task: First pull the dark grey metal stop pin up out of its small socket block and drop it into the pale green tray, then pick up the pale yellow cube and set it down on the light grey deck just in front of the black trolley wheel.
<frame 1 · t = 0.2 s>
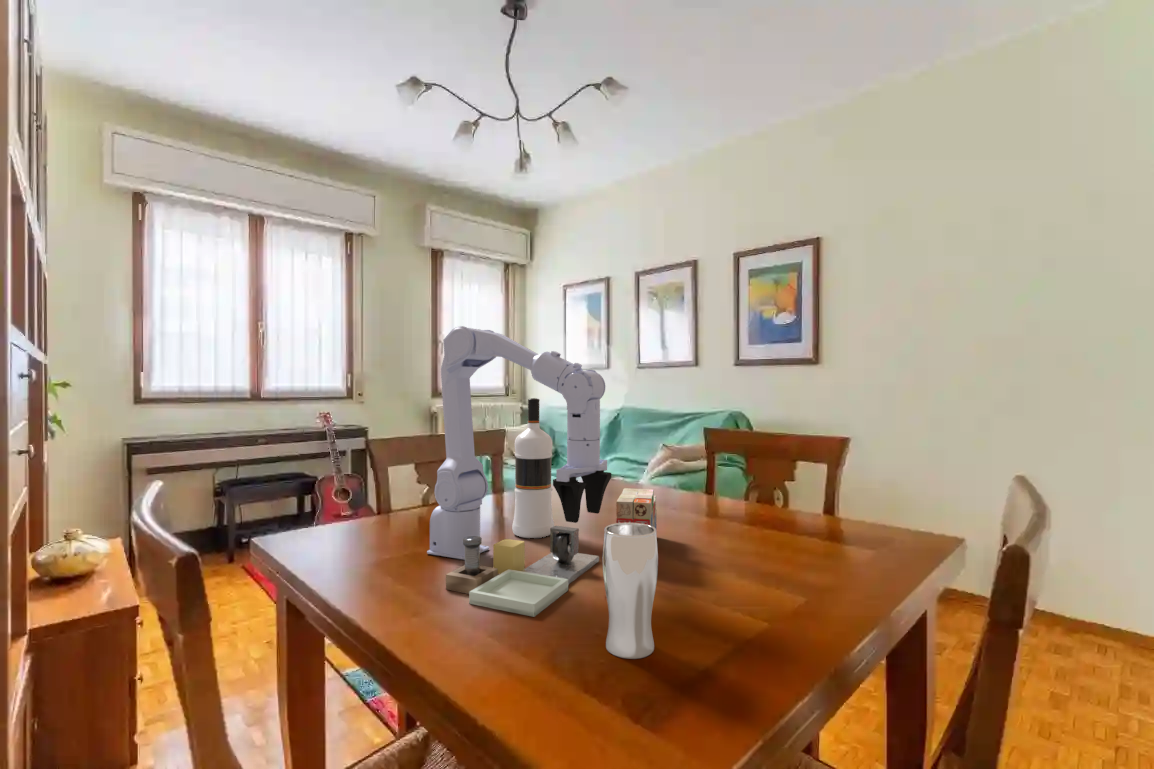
hand: (583, 517, 97), 10 cm above the table, tool pointing down, fingers open, 7 cm apart
pin: (472, 562, 91), in the socket
trolley wheel: (564, 566, 101), on the table
socket: (472, 586, 91), on the table
beer glass: (629, 648, 70), on the table
pale yellow cube: (509, 571, 99), on the table
stack of blocks: (638, 552, 111), on the table
vodka: (533, 534, 123), on the table
tray: (520, 596, 86), on the table
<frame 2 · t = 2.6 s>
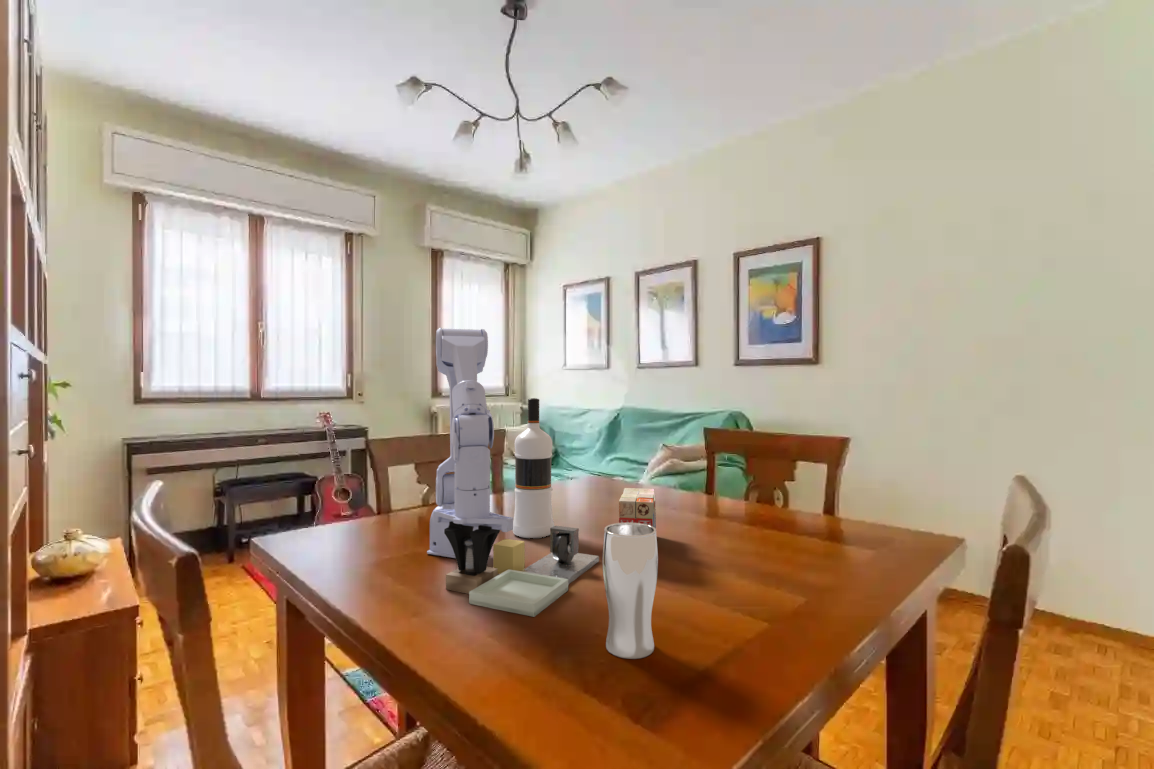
hand: (472, 570, 91), 3 cm above the table, tool pointing down, fingers closed on pin, 3 cm apart
pin: (472, 562, 91), in the socket, touching gripper
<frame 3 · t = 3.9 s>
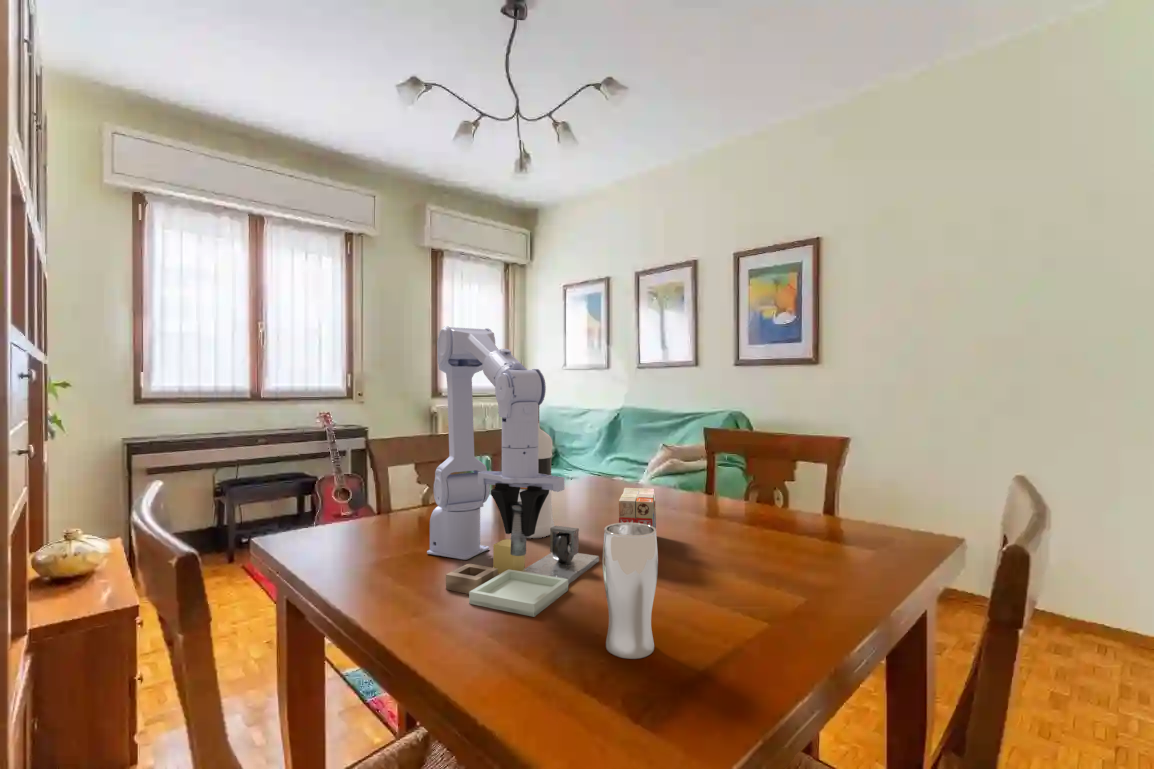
hand: (520, 533, 86), 10 cm above the table, tool pointing down, fingers closed on pin, 3 cm apart
pin: (519, 528, 86), point 11 cm above the table, touching gripper
everything else where it was.
when the fingers open (4 cm above the table, at t = 5.2 s): pin stays where it is, resting on tray.
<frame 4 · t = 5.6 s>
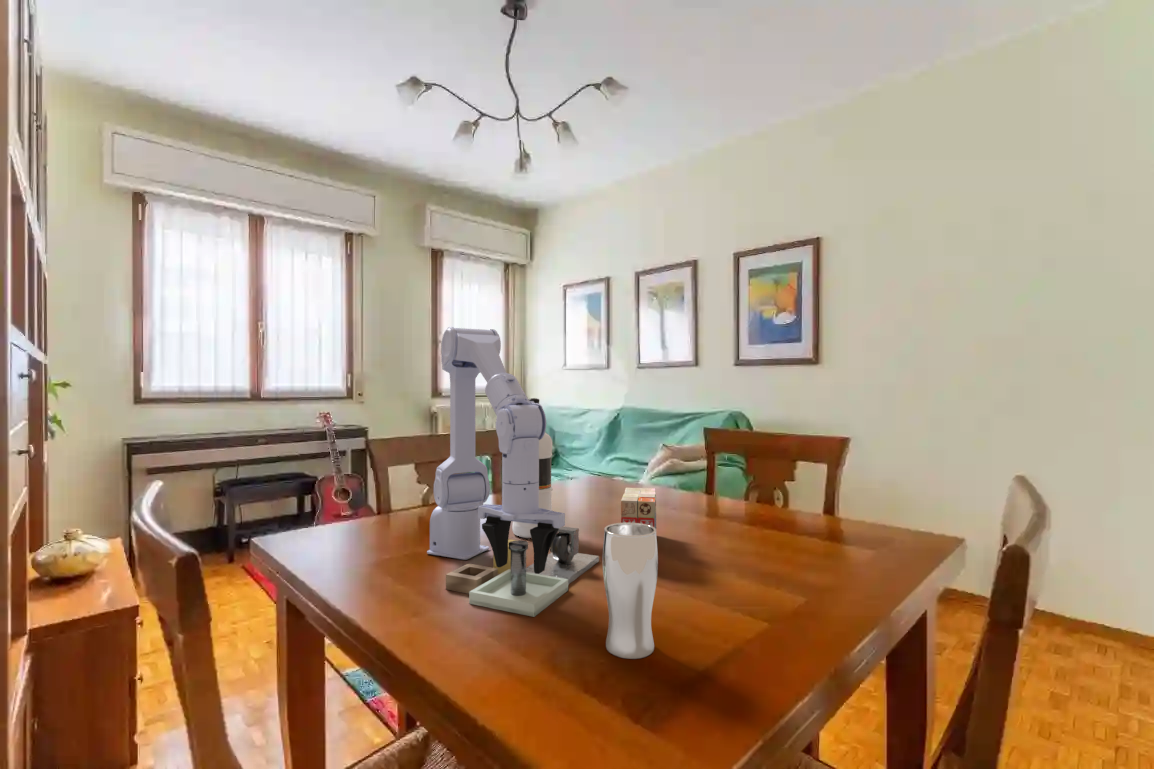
hand: (520, 568, 86), 4 cm above the table, tool pointing down, fingers open, 6 cm apart
pin: (518, 568, 86), in the tray, point 4 cm above the table
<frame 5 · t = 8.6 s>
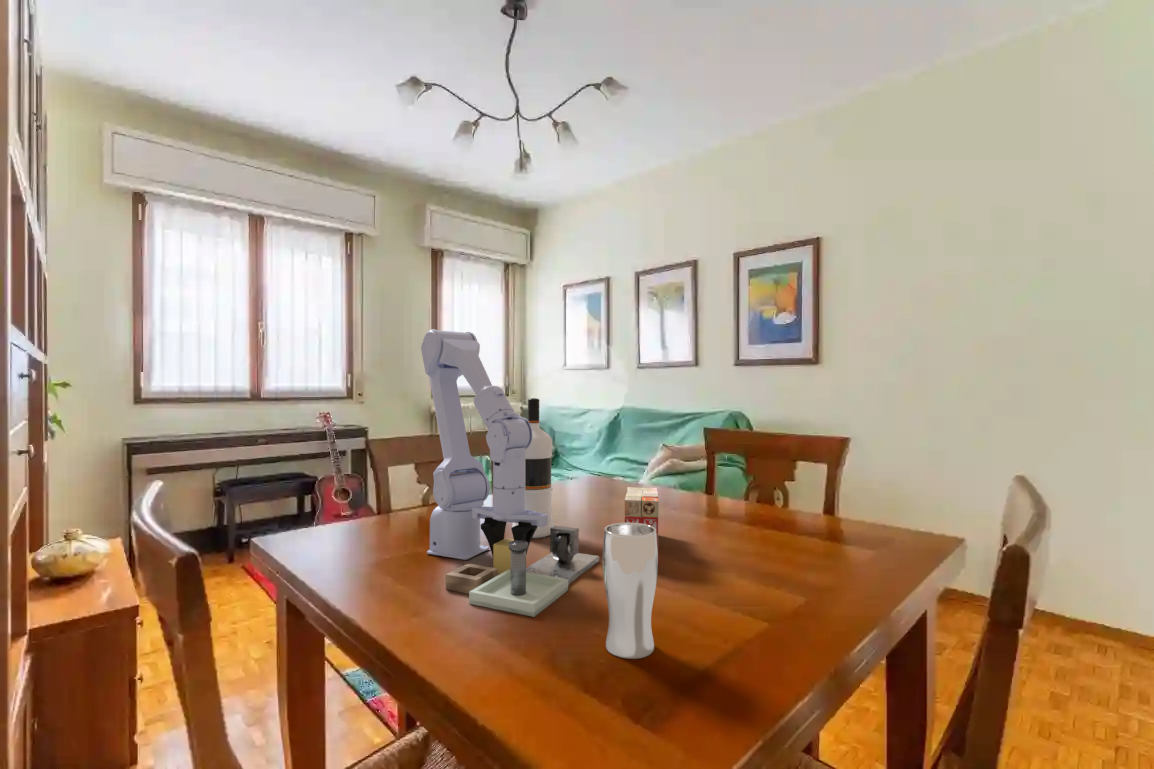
hand: (509, 562, 98), 1 cm above the table, tool pointing down, fingers closed on pale yellow cube, 4 cm apart
pale yellow cube: (509, 570, 99), on the table, touching gripper
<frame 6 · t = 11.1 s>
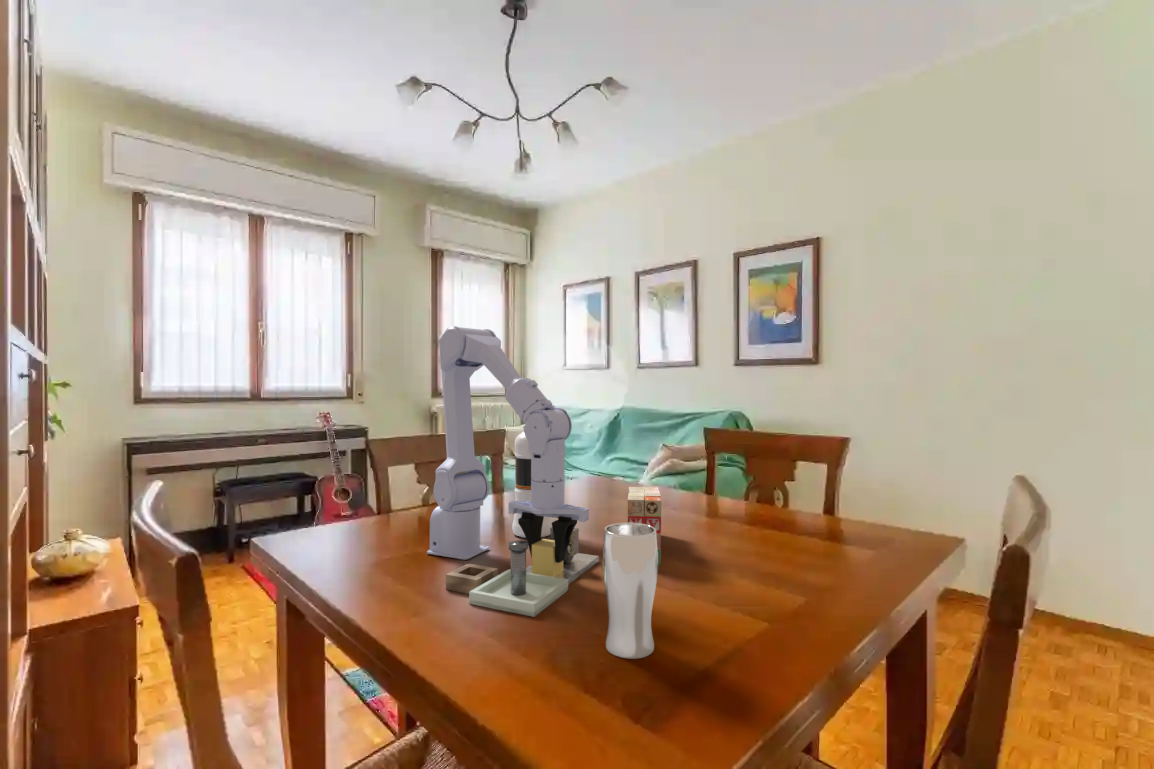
hand: (547, 559, 95), 3 cm above the table, tool pointing down, fingers closed on pale yellow cube, 4 cm apart
pale yellow cube: (547, 572, 95), point 1 cm above the table, touching gripper, trolley wheel
when the fingers open (3 cm above the table, at t = 11.5 s): pale yellow cube stays where it is, resting on trolley wheel.
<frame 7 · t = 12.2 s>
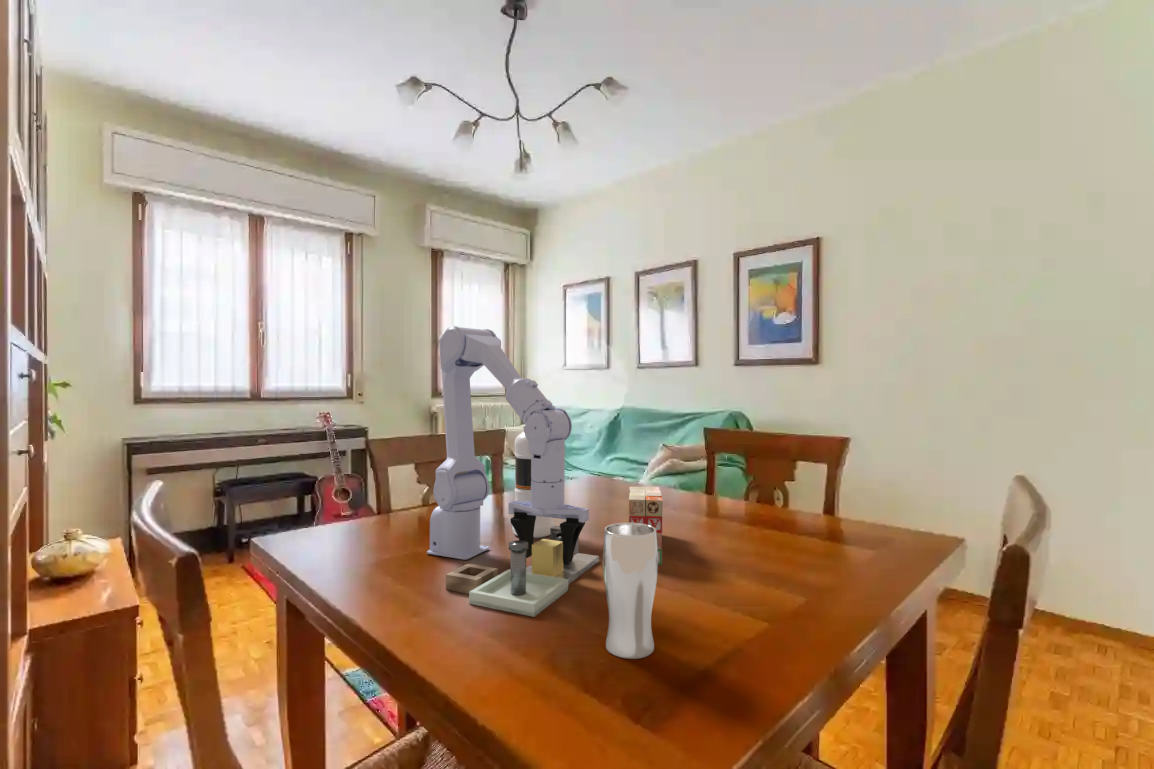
hand: (547, 559, 95), 3 cm above the table, tool pointing down, fingers open, 7 cm apart
pale yellow cube: (547, 572, 95), point 1 cm above the table, touching trolley wheel
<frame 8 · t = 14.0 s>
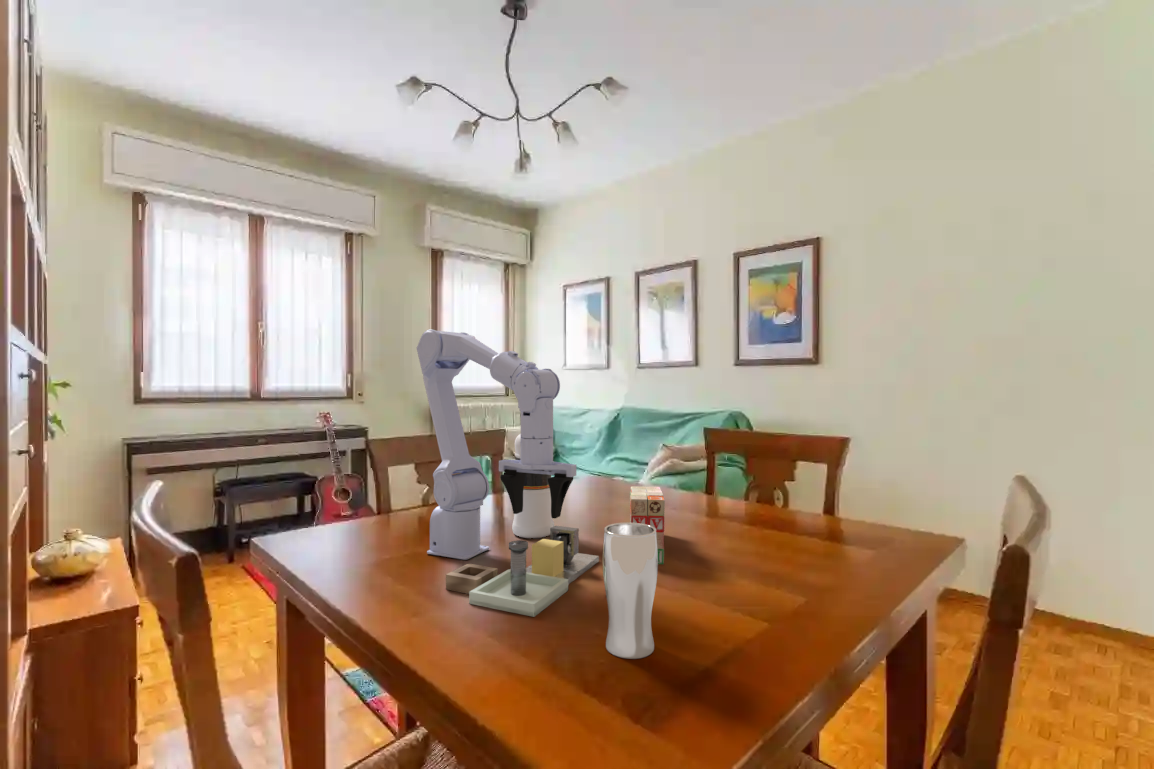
hand: (536, 514, 97), 10 cm above the table, tool pointing down, fingers open, 7 cm apart
at the end: pin inside the target area on the tray (0.3 cm from its centre), point 4.5 cm above the tray's base; pale yellow cube 0.2 cm from the target spot, point 1.0 cm above the table; pale yellow cube tilted 0° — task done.
